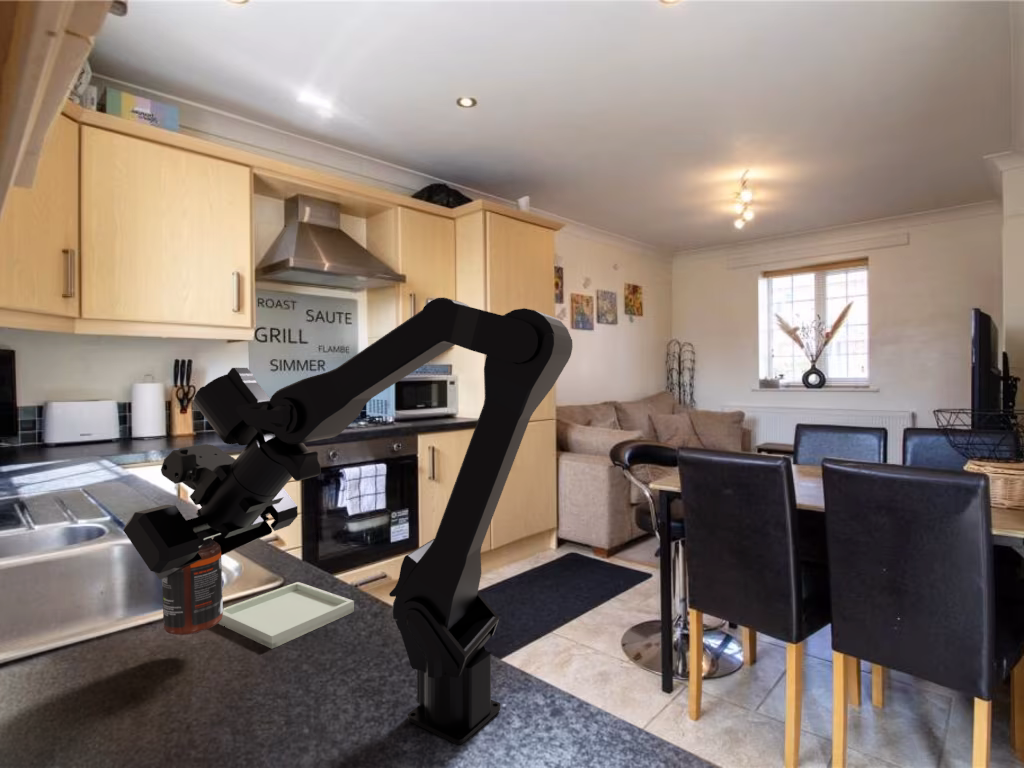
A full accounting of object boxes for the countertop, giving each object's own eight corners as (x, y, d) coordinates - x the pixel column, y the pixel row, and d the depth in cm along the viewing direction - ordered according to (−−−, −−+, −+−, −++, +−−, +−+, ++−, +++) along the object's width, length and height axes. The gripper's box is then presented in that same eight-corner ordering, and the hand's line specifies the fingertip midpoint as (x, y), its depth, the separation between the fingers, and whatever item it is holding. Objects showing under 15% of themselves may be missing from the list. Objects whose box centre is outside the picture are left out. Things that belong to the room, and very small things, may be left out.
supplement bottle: (234, 615, 67) (232, 520, 66) (201, 638, 61) (199, 535, 61) (187, 613, 67) (185, 519, 67) (150, 636, 61) (148, 534, 61)
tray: (354, 611, 76) (353, 600, 76) (272, 648, 66) (271, 636, 66) (298, 591, 83) (297, 581, 83) (215, 622, 72) (215, 611, 72)
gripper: (277, 415, 71) (212, 496, 75) (135, 430, 53) (60, 535, 57) (330, 481, 69) (260, 561, 72) (199, 519, 51) (116, 622, 55)
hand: (183, 566), depth 64 cm, fingers closed on supplement bottle, 6 cm apart
